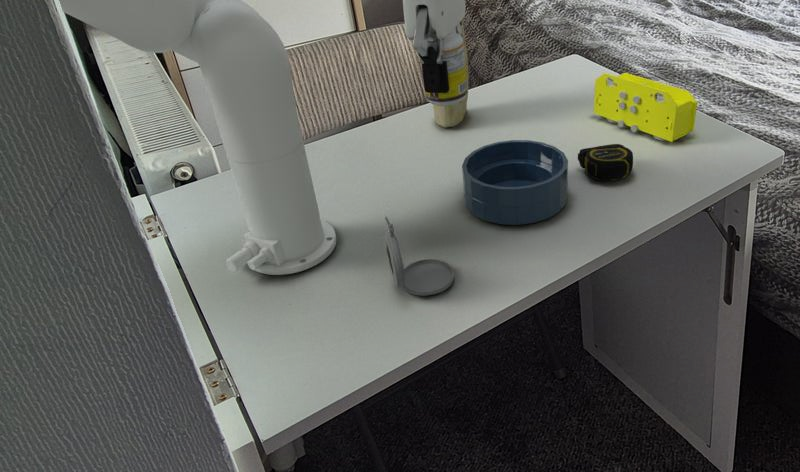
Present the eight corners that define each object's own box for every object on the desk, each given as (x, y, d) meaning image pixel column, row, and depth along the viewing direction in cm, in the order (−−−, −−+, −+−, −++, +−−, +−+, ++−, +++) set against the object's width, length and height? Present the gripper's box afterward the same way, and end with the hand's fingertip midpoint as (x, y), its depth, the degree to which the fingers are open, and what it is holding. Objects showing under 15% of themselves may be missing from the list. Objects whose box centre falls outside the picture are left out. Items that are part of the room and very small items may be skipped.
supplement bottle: (422, 95, 89) (412, 20, 83) (461, 87, 90) (454, 12, 84) (431, 110, 84) (422, 32, 79) (472, 102, 85) (466, 23, 79)
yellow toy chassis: (591, 118, 112) (593, 71, 107) (615, 108, 114) (618, 62, 109) (669, 147, 100) (675, 96, 95) (694, 135, 102) (701, 85, 98)
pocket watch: (465, 277, 79) (460, 207, 74) (417, 314, 75) (408, 242, 69) (417, 254, 84) (408, 187, 79) (370, 287, 80) (357, 218, 74)
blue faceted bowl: (541, 237, 84) (541, 197, 81) (447, 214, 92) (443, 177, 88) (582, 186, 94) (583, 148, 90) (493, 169, 101) (491, 134, 98)
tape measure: (621, 160, 98) (623, 138, 96) (639, 182, 93) (641, 158, 91) (576, 167, 98) (577, 145, 96) (591, 189, 93) (593, 165, 91)
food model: (464, 132, 113) (456, 16, 102) (427, 131, 115) (415, 17, 104) (475, 109, 121) (469, -1, 110) (440, 109, 123) (431, 0, 112)
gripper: (425, -79, 84) (440, 58, 94) (370, -46, 71) (394, 108, 81) (482, -84, 81) (491, 59, 91) (435, -51, 68) (451, 110, 78)
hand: (445, 81), depth 86 cm, fingers closed on supplement bottle, 5 cm apart
